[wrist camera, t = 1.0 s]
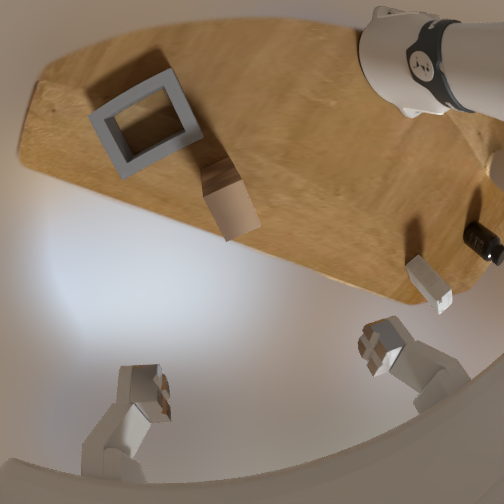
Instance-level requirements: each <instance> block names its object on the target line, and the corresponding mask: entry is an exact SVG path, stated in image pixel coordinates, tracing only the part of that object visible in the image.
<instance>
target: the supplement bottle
mask: <svg viewBox="0 0 504 504" xmlns="http://www.w3.org/2000/svg"><path fill="white" fill-rule="evenodd" d="M464 243H465V244H466V245H467V246H468V247H470V248H471V249H472V250H473V251H475V252H476V253H477V254H478V255H479V256H480V257H482V258H483V259H484V260H485V261H491V260H492V262H493V263H495V264H496V265H497V266H499V265H500V264H501V263H502V262H503V260H504V246H503V245H502V244H501V242H500V238H499V237H498V236H497V235H496V234H494V233H493V232H492V231H490V230H489V229H488V228H486V227H485V226H483V225H482V224H481V223H479V222H478V221H473V222H471V223H470V224H469V225H468V227H467V229H466V231H465V233H464Z"/></svg>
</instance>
